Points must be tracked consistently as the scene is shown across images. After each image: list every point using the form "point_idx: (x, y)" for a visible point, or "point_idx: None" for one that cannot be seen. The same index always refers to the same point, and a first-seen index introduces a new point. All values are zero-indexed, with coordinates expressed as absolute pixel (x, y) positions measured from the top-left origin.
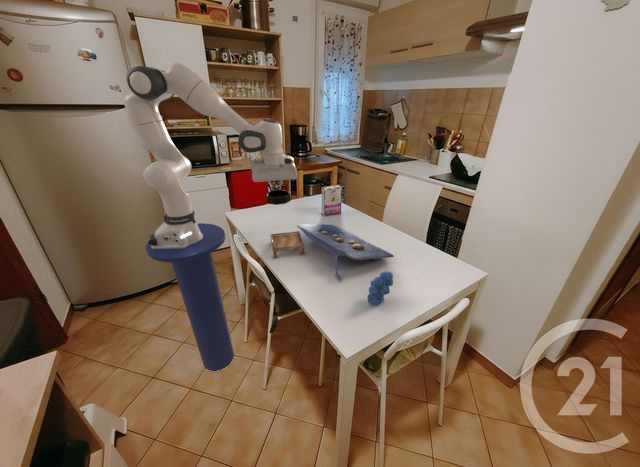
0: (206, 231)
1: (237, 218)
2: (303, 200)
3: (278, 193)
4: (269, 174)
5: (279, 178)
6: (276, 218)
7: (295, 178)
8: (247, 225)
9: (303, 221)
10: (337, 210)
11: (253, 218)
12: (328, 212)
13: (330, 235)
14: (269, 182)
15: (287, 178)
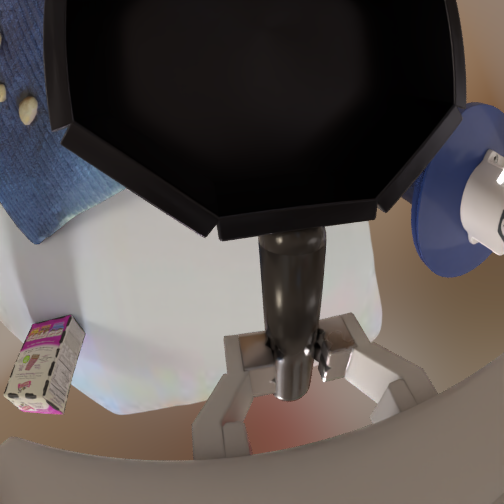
0: (450, 230)
1: (368, 309)
2: (161, 402)
3: (266, 188)
4: (471, 488)
5: (264, 487)
6: (243, 310)
7: (7, 443)
8: (349, 264)
9: (135, 283)
10: (36, 329)
11: (324, 311)
12: (58, 323)
13: (12, 93)
14: (411, 385)
15: (102, 477)
